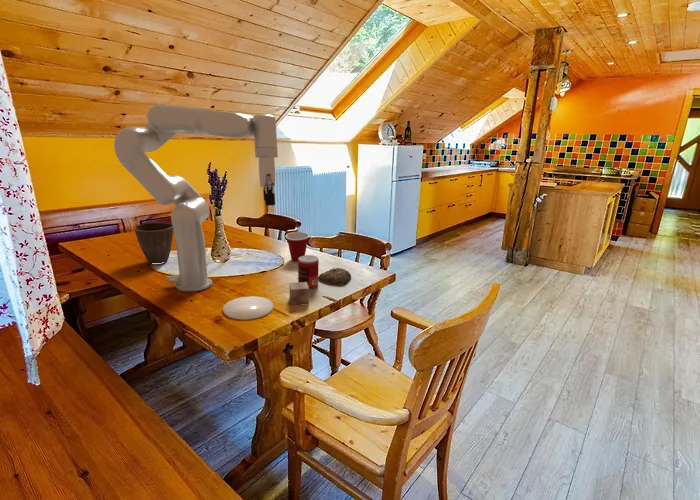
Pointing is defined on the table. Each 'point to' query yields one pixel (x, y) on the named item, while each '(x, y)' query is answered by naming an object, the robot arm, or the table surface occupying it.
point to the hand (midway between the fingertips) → (269, 202)
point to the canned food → (308, 270)
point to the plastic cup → (297, 244)
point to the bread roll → (335, 276)
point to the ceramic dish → (248, 308)
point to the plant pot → (155, 241)
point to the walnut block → (299, 293)
